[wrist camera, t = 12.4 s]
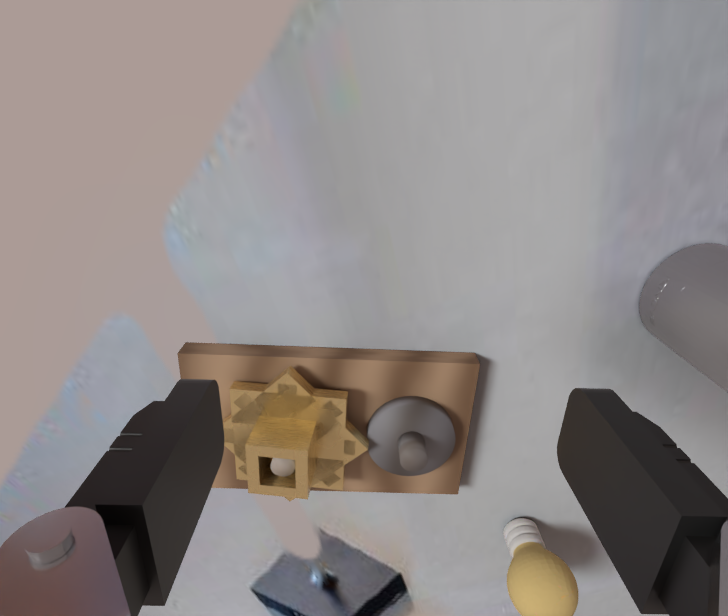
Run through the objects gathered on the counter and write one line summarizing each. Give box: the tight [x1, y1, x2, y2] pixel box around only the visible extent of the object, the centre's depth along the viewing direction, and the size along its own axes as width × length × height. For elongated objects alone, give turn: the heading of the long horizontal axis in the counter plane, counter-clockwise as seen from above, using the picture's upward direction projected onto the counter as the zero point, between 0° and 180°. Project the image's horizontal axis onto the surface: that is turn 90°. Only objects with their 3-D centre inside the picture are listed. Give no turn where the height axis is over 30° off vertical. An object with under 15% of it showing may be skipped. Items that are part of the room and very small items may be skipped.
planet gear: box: [223, 366, 369, 501], centre depth 39 cm, size 14×14×5 cm
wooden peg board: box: [178, 343, 480, 494], centre depth 41 cm, size 26×15×7 cm, turn 87°
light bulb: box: [503, 518, 578, 616], centre depth 46 cm, size 6×6×10 cm
